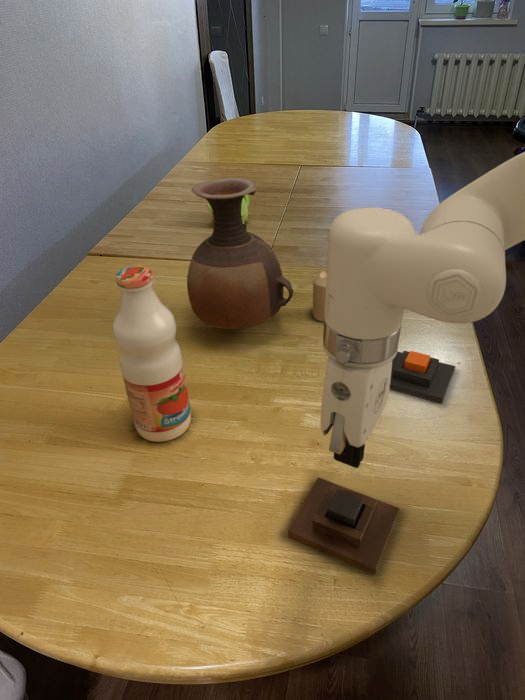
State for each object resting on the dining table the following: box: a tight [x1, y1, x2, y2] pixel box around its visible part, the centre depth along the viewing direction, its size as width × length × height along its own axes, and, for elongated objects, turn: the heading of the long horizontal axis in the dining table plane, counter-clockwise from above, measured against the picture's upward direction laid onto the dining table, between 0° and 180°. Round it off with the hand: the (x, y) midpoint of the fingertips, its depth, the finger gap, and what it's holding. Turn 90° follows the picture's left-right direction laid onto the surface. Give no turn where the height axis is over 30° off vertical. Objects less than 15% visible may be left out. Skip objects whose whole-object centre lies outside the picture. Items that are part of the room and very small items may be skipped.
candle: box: [312, 270, 327, 322], centre depth 110 cm, size 6×6×10 cm
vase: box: [186, 177, 294, 330], centre depth 101 cm, size 23×19×30 cm
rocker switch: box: [327, 489, 364, 528], centre depth 67 cm, size 4×4×2 cm
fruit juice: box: [112, 265, 192, 443], centre depth 79 cm, size 9×9×28 cm
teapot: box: [205, 194, 251, 224], centre depth 155 cm, size 12×12×10 cm
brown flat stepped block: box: [287, 477, 401, 575], centre depth 68 cm, size 12×10×3 cm
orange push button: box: [390, 350, 456, 404], centre depth 93 cm, size 12×10×3 cm
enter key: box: [404, 350, 431, 374], centre depth 92 cm, size 4×4×2 cm
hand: (348, 459), depth 63 cm, fingers closed
